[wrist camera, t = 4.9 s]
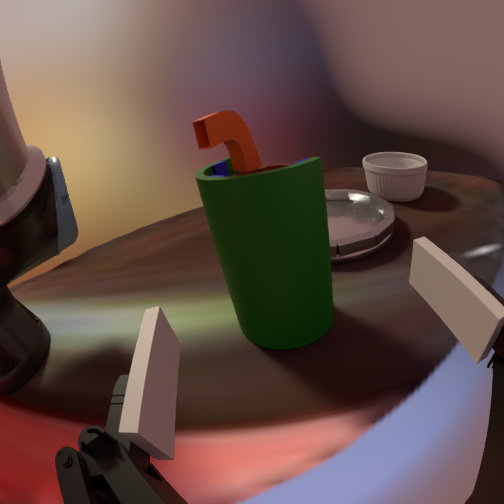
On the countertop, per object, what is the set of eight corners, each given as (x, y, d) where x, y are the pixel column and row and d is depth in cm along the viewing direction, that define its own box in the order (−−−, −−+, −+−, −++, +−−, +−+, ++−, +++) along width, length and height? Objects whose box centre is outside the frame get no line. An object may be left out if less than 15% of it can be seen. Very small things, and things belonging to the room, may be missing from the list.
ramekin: (436, 204, 41) (437, 167, 38) (369, 207, 46) (367, 169, 42) (416, 181, 52) (415, 151, 49) (361, 183, 56) (358, 153, 53)
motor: (348, 303, 27) (329, 93, 17) (299, 366, 22) (249, 104, 12) (272, 279, 34) (234, 109, 24) (220, 325, 29) (153, 131, 19)
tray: (281, 280, 33) (278, 261, 32) (258, 218, 51) (255, 204, 49) (419, 241, 33) (420, 224, 32) (358, 195, 51) (357, 182, 49)
